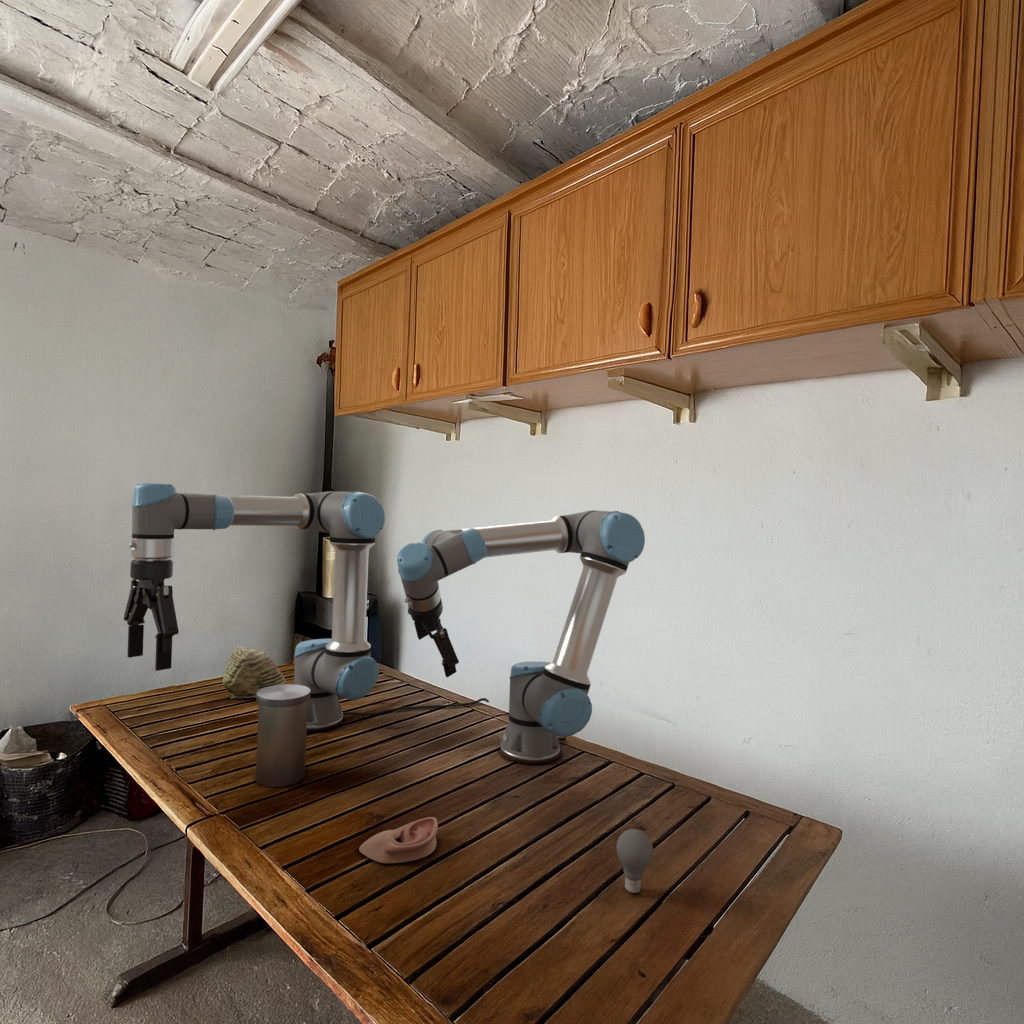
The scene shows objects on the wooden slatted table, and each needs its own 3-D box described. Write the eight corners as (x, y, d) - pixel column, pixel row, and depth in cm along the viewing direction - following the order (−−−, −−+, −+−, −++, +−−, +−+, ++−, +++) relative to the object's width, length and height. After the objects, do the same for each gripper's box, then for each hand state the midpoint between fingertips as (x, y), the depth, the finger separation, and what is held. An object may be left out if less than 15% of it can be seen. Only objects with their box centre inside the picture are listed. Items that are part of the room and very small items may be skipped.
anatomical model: (352, 836, 111) (378, 805, 123) (351, 858, 111) (377, 826, 123) (423, 847, 109) (444, 815, 120) (422, 870, 109) (443, 836, 120)
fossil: (218, 695, 195) (220, 647, 195) (278, 685, 208) (279, 640, 207) (228, 703, 189) (230, 653, 188) (289, 692, 201) (290, 645, 201)
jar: (263, 791, 135) (266, 703, 135) (250, 773, 143) (253, 690, 143) (311, 780, 141) (314, 696, 141) (296, 763, 150) (299, 684, 149)
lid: (264, 710, 134) (264, 702, 134) (249, 695, 143) (250, 688, 143) (317, 701, 141) (317, 694, 141) (300, 688, 150) (300, 681, 150)
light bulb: (610, 879, 108) (613, 822, 108) (644, 879, 109) (647, 822, 109) (619, 902, 102) (622, 840, 102) (655, 901, 103) (658, 840, 103)
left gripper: (108, 554, 134) (104, 654, 134) (159, 565, 118) (155, 678, 119) (146, 552, 140) (143, 648, 140) (199, 563, 124) (195, 671, 124)
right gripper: (384, 574, 148) (399, 629, 162) (437, 646, 132) (449, 699, 147) (412, 559, 151) (425, 614, 165) (468, 628, 135) (476, 682, 150)
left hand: (148, 662), depth 129 cm, fingers open, 13 cm apart
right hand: (436, 654), depth 156 cm, fingers open, 13 cm apart
